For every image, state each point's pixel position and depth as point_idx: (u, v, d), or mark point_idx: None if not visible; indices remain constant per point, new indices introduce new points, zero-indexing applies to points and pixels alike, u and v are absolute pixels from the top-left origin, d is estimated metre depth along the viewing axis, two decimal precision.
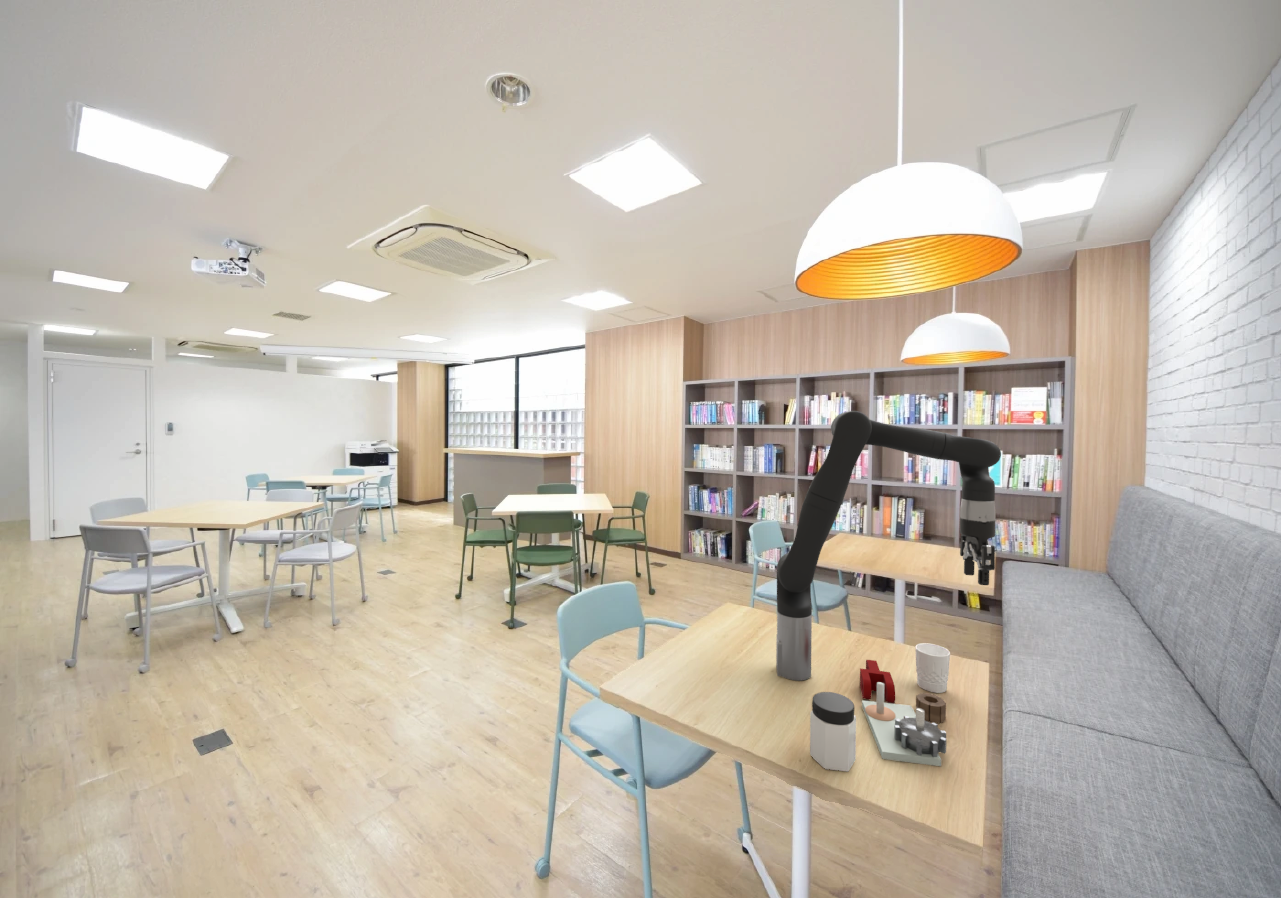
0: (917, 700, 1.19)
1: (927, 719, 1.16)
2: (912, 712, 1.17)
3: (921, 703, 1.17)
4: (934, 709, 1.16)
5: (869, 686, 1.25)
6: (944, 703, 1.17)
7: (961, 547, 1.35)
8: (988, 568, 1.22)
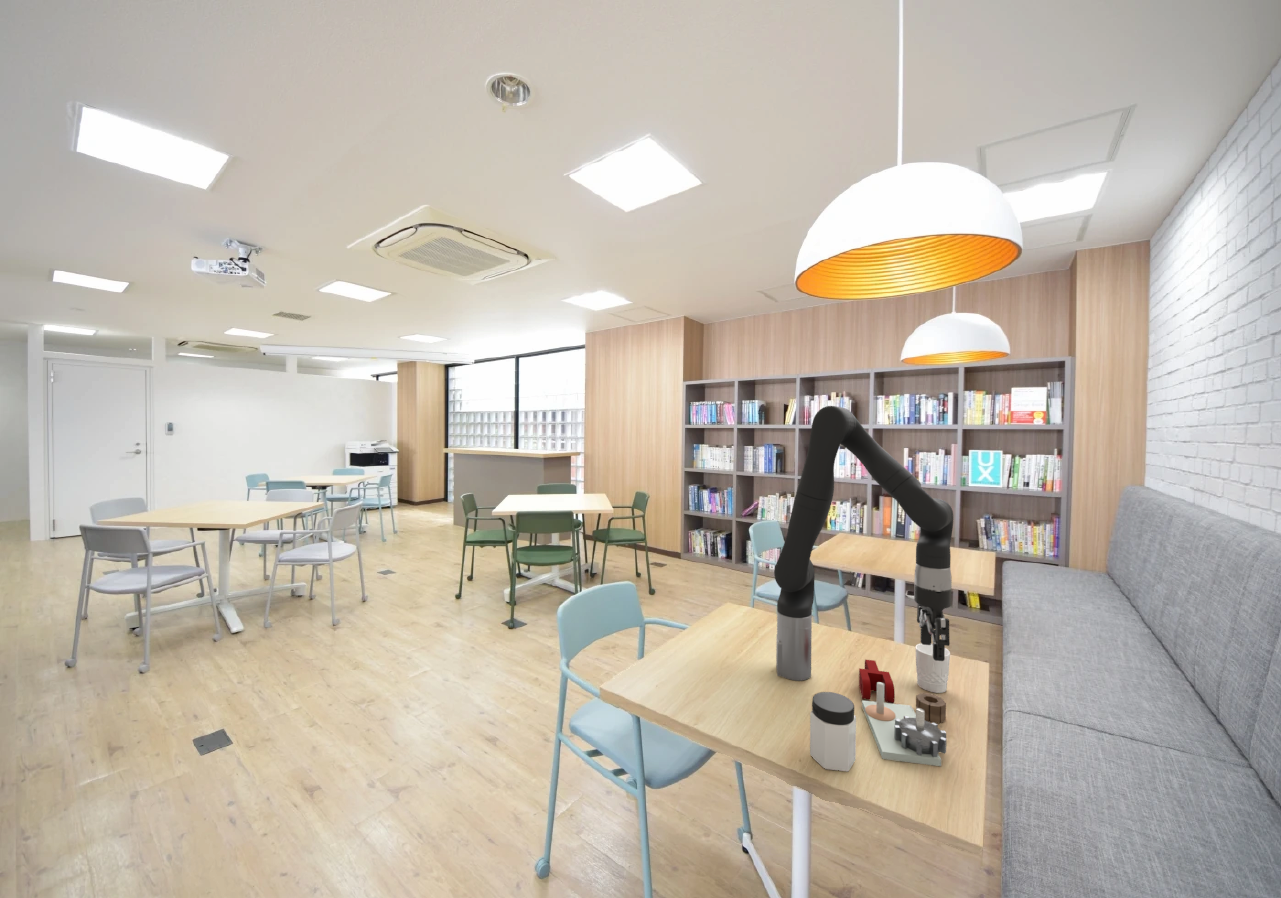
0: (917, 700, 1.19)
1: (927, 719, 1.16)
2: (912, 712, 1.17)
3: (921, 703, 1.17)
4: (934, 709, 1.16)
5: (868, 686, 1.25)
6: (944, 703, 1.17)
7: (918, 613, 1.24)
8: (942, 644, 1.11)
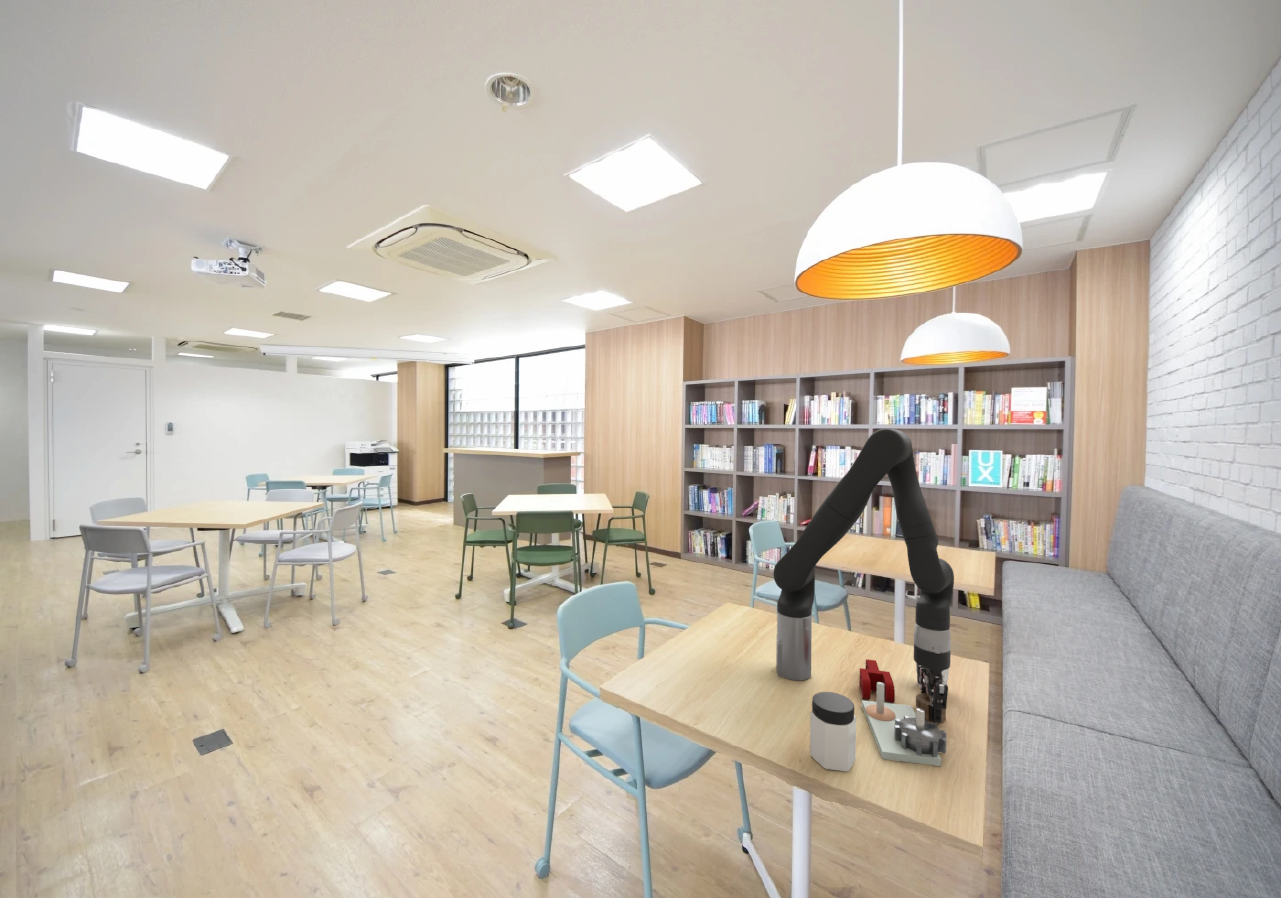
0: (917, 700, 1.19)
1: (927, 719, 1.16)
2: (912, 712, 1.17)
3: (921, 703, 1.17)
4: None
5: (869, 686, 1.25)
6: None
7: (918, 673, 1.24)
8: (939, 707, 1.13)
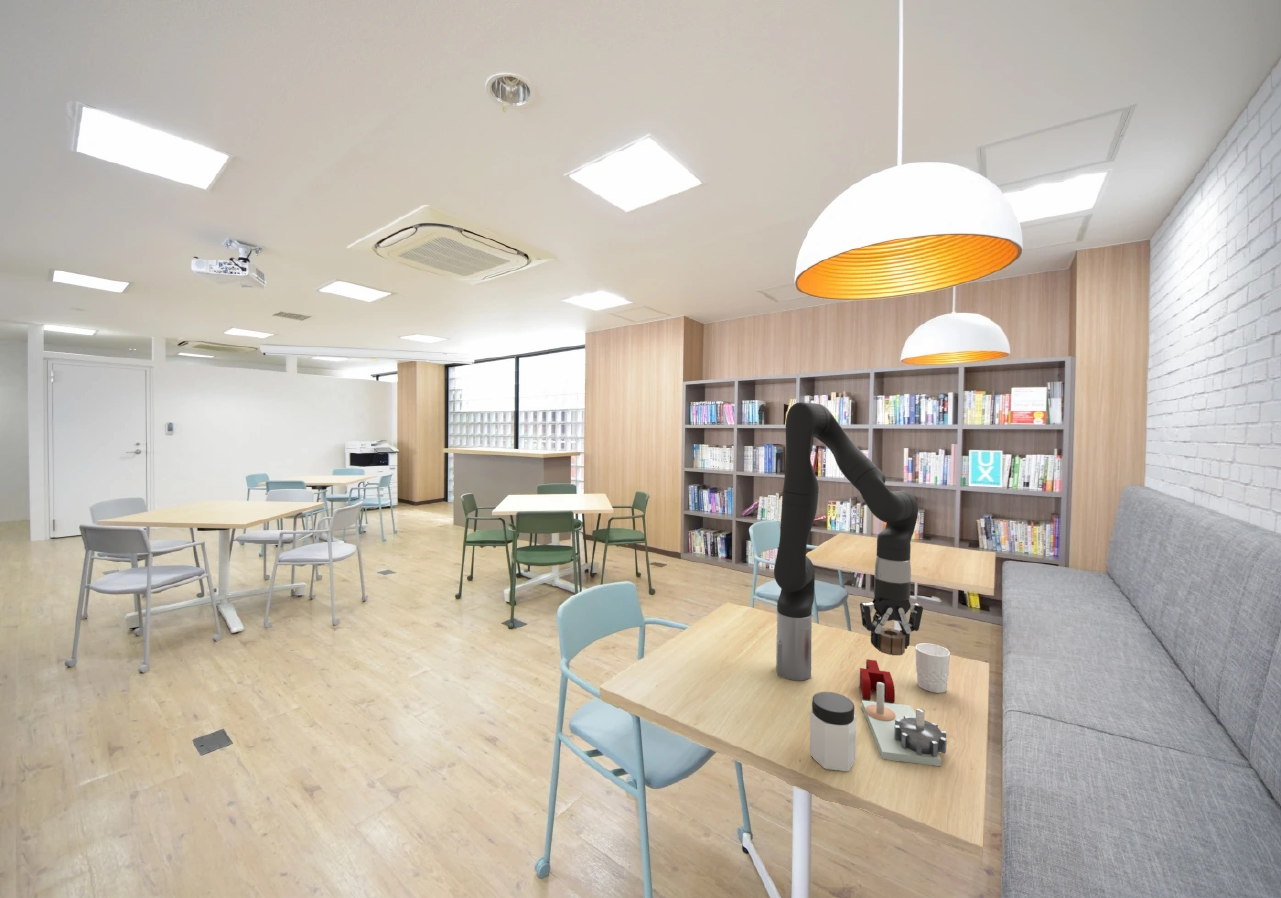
0: None
1: None
2: (912, 712, 1.17)
3: None
4: None
5: (869, 685, 1.25)
6: (891, 637, 1.14)
7: None
8: (865, 626, 1.17)
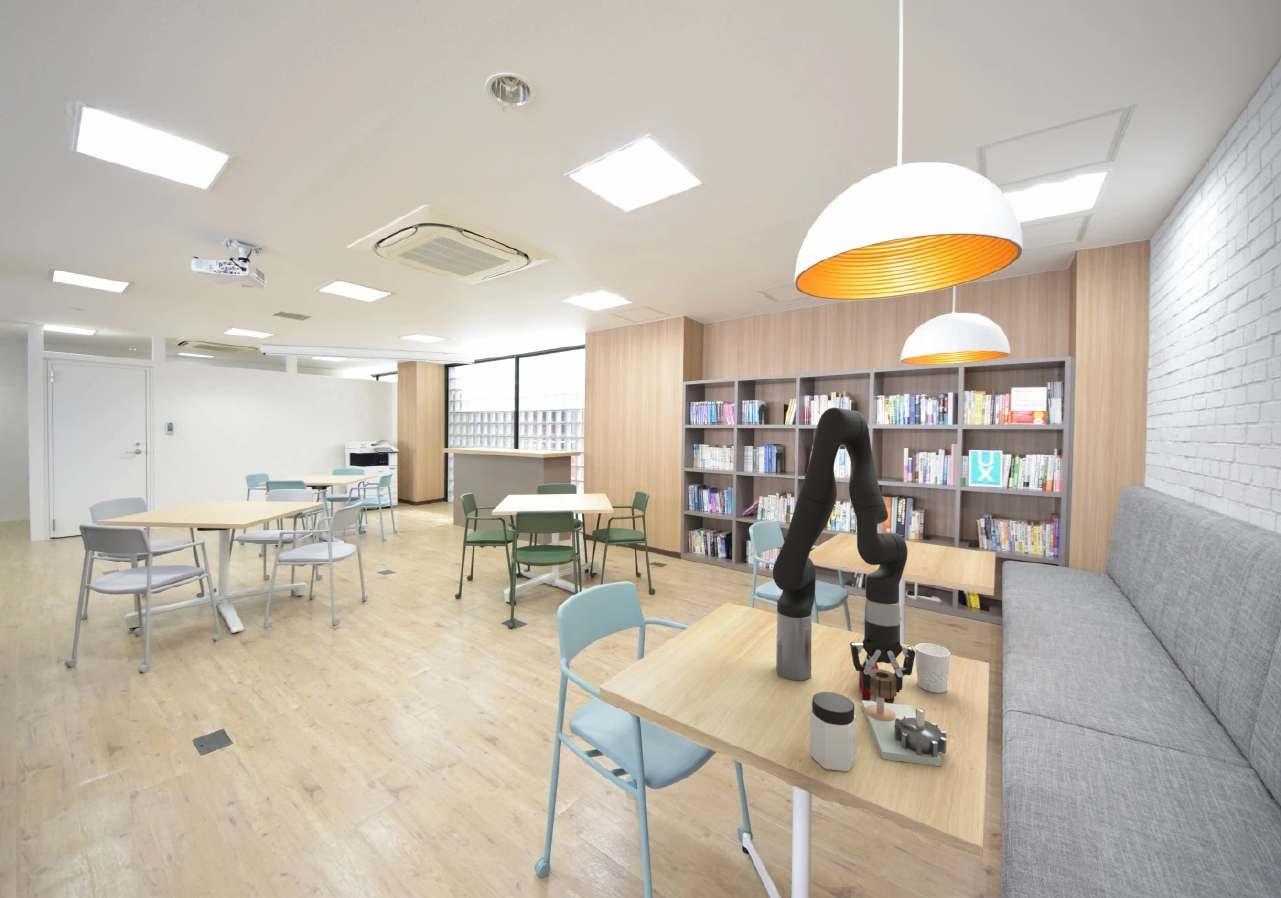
0: None
1: None
2: (912, 712, 1.17)
3: None
4: None
5: None
6: (879, 679, 1.15)
7: None
8: None
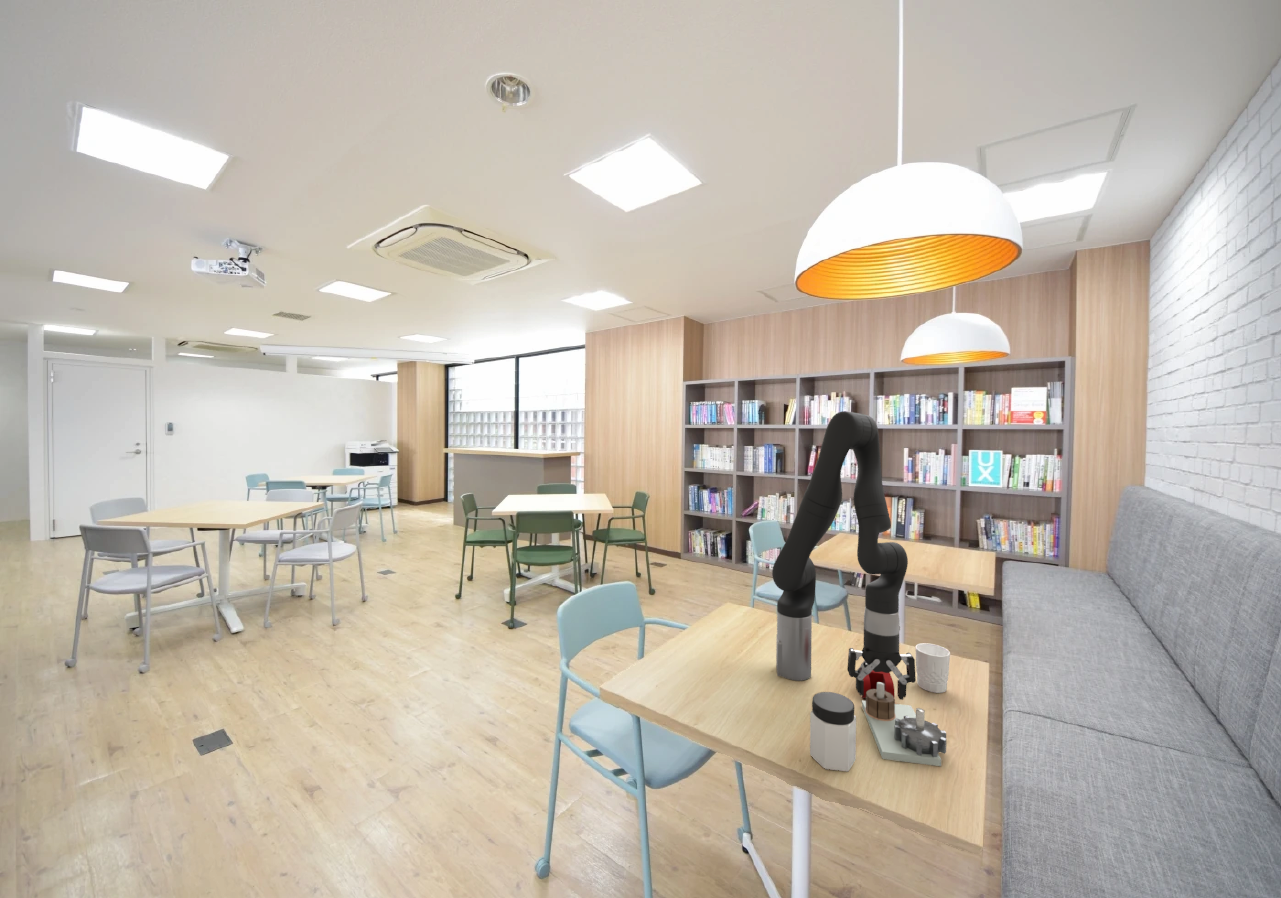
0: None
1: None
2: (912, 712, 1.17)
3: None
4: (866, 697, 1.18)
5: (868, 685, 1.25)
6: (877, 700, 1.15)
7: None
8: None
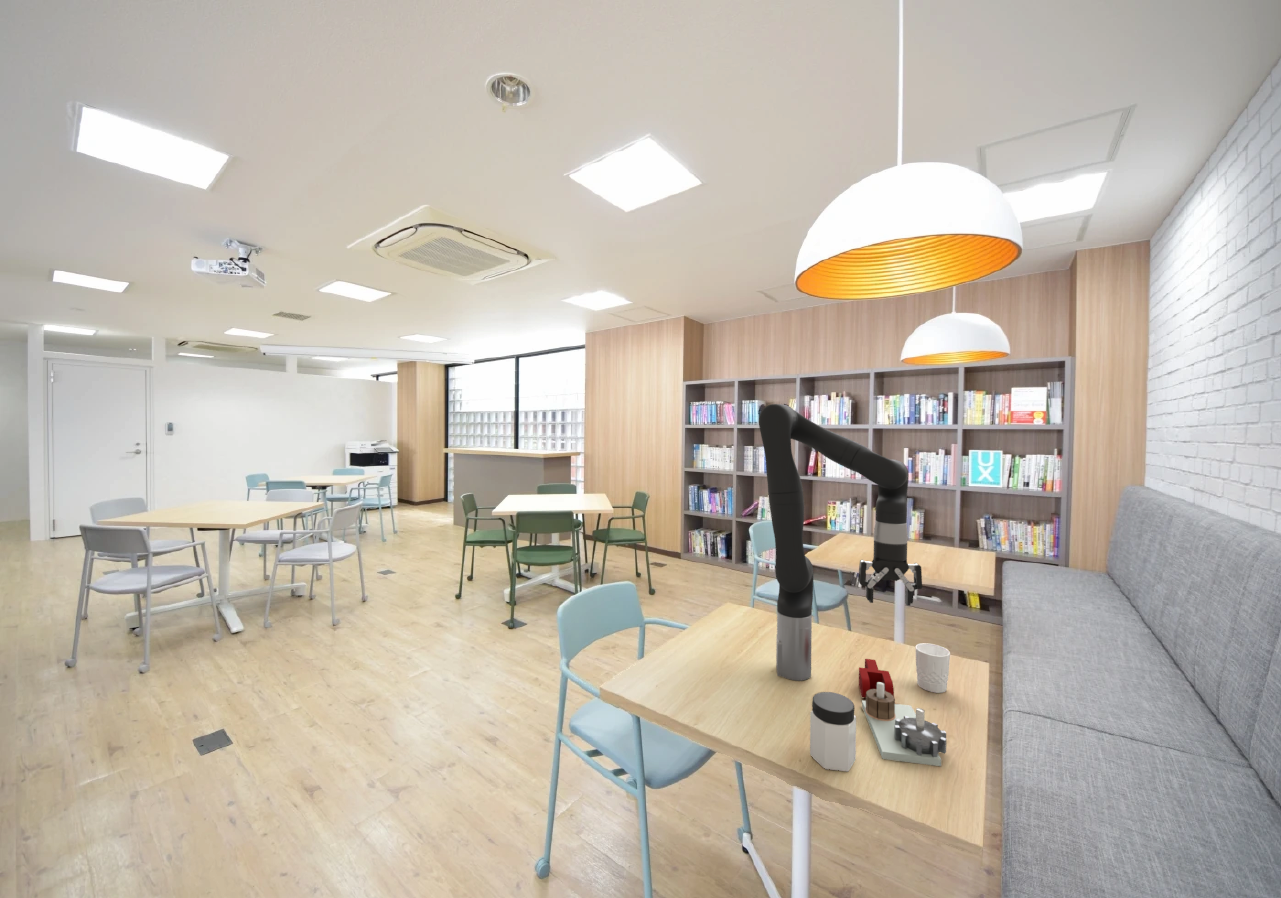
0: None
1: None
2: (912, 712, 1.17)
3: None
4: (866, 697, 1.18)
5: (868, 685, 1.25)
6: (877, 700, 1.15)
7: None
8: (859, 582, 1.27)
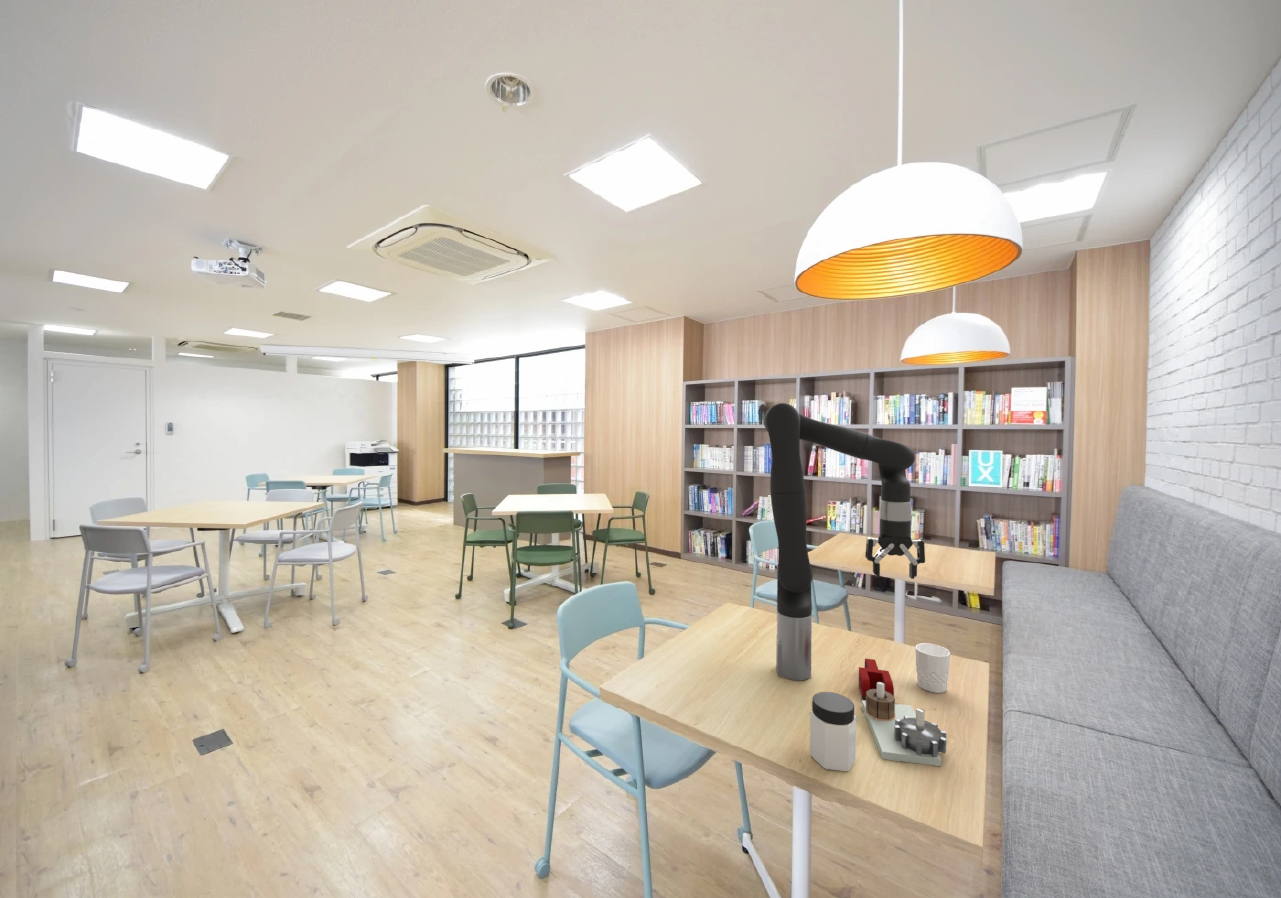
0: None
1: None
2: (912, 712, 1.17)
3: None
4: (866, 697, 1.18)
5: (868, 685, 1.26)
6: (877, 700, 1.15)
7: None
8: (866, 557, 1.36)
